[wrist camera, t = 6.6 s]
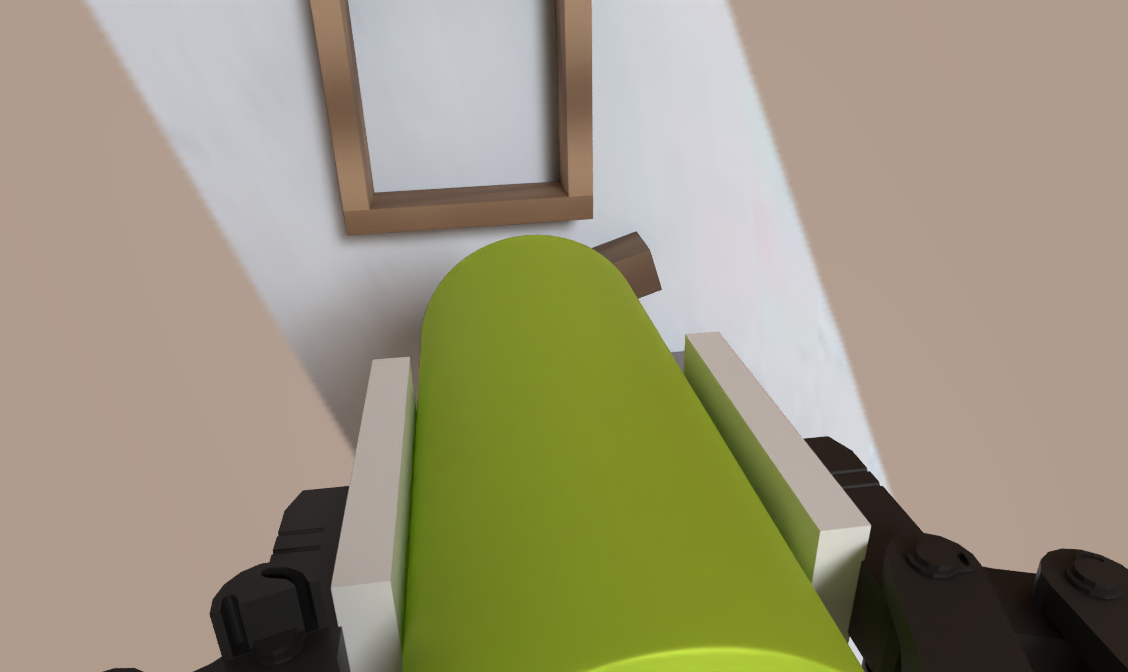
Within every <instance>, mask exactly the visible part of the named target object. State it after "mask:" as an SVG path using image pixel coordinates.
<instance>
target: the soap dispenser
mask: <svg viewBox="0 0 1128 672" xmlns="http://www.w3.org/2000/svg"><path fill="white" fill-rule="evenodd" d="M402 672H865V671H864V670H863V668H862V666H861V665H860V663H859V662H858V660H857V658H856V657H855V655H854V653H853V652H852V650H851V648H850V647H849V645H848V643H847V642H846V640H845V639H844V637H843V635H842V634H841V632H840V630H839V629H838V627H837V625H836V624H835V622H834V620H833V619H832V617H831V615H830V614H829V612H828V611H827V609H826V607H825V606H824V604H823V602H822V601H821V599H820V597H819V596H818V594H817V592H816V591H815V589H814V588H813V586H812V584H811V583H810V581H809V579H808V578H807V576H806V574H805V573H804V571H803V569H802V568H801V566H800V565H799V563H798V561H797V560H796V558H795V556H794V555H793V553H792V551H791V550H790V548H789V546H788V545H787V543H786V541H785V540H784V538H783V537H782V535H781V533H780V532H779V530H778V528H777V527H776V525H775V523H774V522H773V520H772V518H771V517H770V515H769V514H768V512H767V510H766V509H765V507H764V505H763V504H762V502H761V500H760V499H759V497H758V495H757V494H756V492H755V491H754V489H753V487H752V486H751V484H750V482H749V481H748V479H747V477H746V476H745V474H744V472H743V471H742V469H741V467H740V466H739V464H738V463H737V461H736V459H735V458H734V456H733V454H732V453H731V451H730V449H729V448H728V446H727V444H726V443H725V441H724V440H723V438H722V436H721V435H720V433H719V431H718V430H717V428H716V426H715V425H714V423H713V421H712V420H711V418H710V417H709V415H708V413H707V412H706V410H705V408H704V407H703V405H702V403H701V402H700V400H699V398H698V397H697V395H696V394H695V392H694V390H693V389H692V387H691V385H690V384H689V382H688V380H687V379H686V377H685V375H684V374H683V372H682V370H681V369H680V367H679V366H678V364H677V362H676V361H675V359H674V357H673V356H672V354H671V352H670V351H669V349H668V347H667V346H666V344H665V343H664V341H663V339H662V338H661V336H660V334H659V333H658V331H657V329H656V328H655V326H654V324H653V323H652V321H651V320H650V318H649V316H648V315H647V313H646V311H645V310H644V308H643V306H642V305H641V303H640V301H639V300H638V298H637V296H636V295H635V293H634V292H633V290H632V288H631V287H630V285H629V283H628V282H627V280H626V279H625V277H624V276H623V275H622V274H621V272H620V271H619V270H618V269H617V268H616V267H615V266H614V265H613V264H612V263H611V262H610V261H609V260H608V259H606V258H605V257H604V256H603V255H601V254H600V253H598V252H597V251H595V250H593V249H591V248H590V247H588V246H586V245H583V244H581V243H578V242H576V241H573V240H570V239H566V238H562V237H556V236H549V235H525V236H517V237H512V238H507V239H504V240H500V241H497V242H495V243H492V244H489V245H487V246H485V247H483V248H481V249H479V250H477V251H475V252H474V253H472V254H470V255H469V256H468V257H466V258H465V259H463V260H462V261H461V262H460V263H458V264H457V265H456V266H455V267H454V268H453V269H452V270H451V271H450V272H449V273H448V274H447V275H446V276H445V278H444V279H443V280H442V281H441V283H440V284H439V286H438V287H437V289H436V290H435V292H434V294H433V296H432V298H431V300H430V302H429V304H428V307H427V309H426V313H425V316H424V320H423V325H422V333H421V349H420V366H419V384H418V401H417V418H416V435H415V453H414V470H413V487H412V505H411V522H410V539H409V556H408V574H407V591H406V608H405V626H404V643H403V660H402Z"/></svg>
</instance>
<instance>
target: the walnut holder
mask: <svg viewBox="0 0 1128 672" xmlns="http://www.w3.org/2000/svg"><path fill="white" fill-rule="evenodd" d="M310 3H311V9H312V16H313V22H314V28H315V34H316V41H317V47H318V53H319V60H320V66H321V72H322V79H323V85H324V91H325V98H326V104H327V110H328V117H329V123H330V129H331V136H332V142H333V148H334V155H335V161H336V167H337V174H338V180H339V186H340V193H341V199H342V205H343V212H344V218H345V224H346V231H347V235H362V234H377V233H391V232H406V231H421V230H436V229H450V228H465V227H480V226H495V225H509V224H524V223H539V222H554V221H568V220H583V219H593V149H592V9H591V0H555V4H556V42H557V80H558V117H559V155H560V181H558V182H542V183H526V184H509V185H493V186H477V187H461V188H444V189H428V190H412V191H396V192H379V193H374V188H373V180H372V173H371V166H370V159H369V151H368V144H367V137H366V129H365V122H364V115H363V108H362V100H361V93H360V86H359V79H358V71H357V64H356V57H355V50H354V42H353V35H352V28H351V21H350V13H349V6H348V0H310Z"/></svg>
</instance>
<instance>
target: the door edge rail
mask: <svg viewBox="0 0 1128 672" xmlns="http://www.w3.org/2000/svg"><path fill="white" fill-rule="evenodd" d="M591 249H593V250H595V251H597V252H598V253H600V254H601V255H603V256H604V257H605V258H606V259H608V260H609V261H610V262H611V263H612V264H613V265H614V266H615V267H616V268H617V269H618V270H619V271H620V272H621V274H622V275H623V276H624V277H625V279H626V280H627V282H628V283H629V285H630V287H631V288H632V290H633V292H634V293H635V295H636V296H637V298H641V297H644V296H646V295H649V294H652V293H654V292H657V291H660V290H662V288H661V285H660V281H659V278H658V275H657V272H656V268H655V265H654V262H653V258H652V255H651V252H650V249H649V248H648V246H647V245H646V244H645V242H644V241H643V240H642V238H641V237H640V236H639V234H638V233H637V232H634V233H631V234H628V235H626V236H623V237H620V238H618V239H615V240H613V241H610V242H607V243H605V244H602V245H599V246H597V247H594V248H591Z"/></svg>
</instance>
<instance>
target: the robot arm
mask: <svg viewBox="0 0 1128 672" xmlns="http://www.w3.org/2000/svg"><path fill="white" fill-rule="evenodd" d="M683 374H684V375H685V377H686V379H687V380H688V382H689V384H690V385H691V387H692V389H693V390H694V392H695V394H696V395H697V397H698V398H699V400H700V402H701V403H702V405H703V407H704V408H705V410H706V412H707V413H708V415H709V417H710V418H711V420H712V421H713V423H714V425H715V426H716V428H717V430H718V431H719V433H720V435H721V436H722V438H723V440H724V441H725V443H726V444H727V446H728V448H729V449H730V451H731V453H732V454H733V456H734V458H735V459H736V461H737V463H738V464H739V466H740V467H741V469H742V471H743V472H744V474H745V476H746V477H747V479H748V481H749V482H750V484H751V486H752V487H753V489H754V491H755V492H756V494H757V495H758V497H759V499H760V500H761V502H762V504H763V505H764V507H765V509H766V510H767V512H768V514H769V515H770V517H771V518H772V520H773V522H774V523H775V525H776V527H777V528H778V530H779V532H780V533H781V535H782V537H783V538H784V540H785V541H786V543H787V545H788V546H789V548H790V550H791V551H792V553H793V555H794V556H795V558H796V560H797V561H798V563H799V565H800V566H801V568H802V569H803V571H804V573H805V574H806V576H807V578H808V579H809V581H810V583H811V584H812V586H813V588H814V589H815V591H816V592H817V594H818V596H819V597H820V599H821V601H822V602H823V604H824V606H825V607H826V609H827V611H828V612H829V614H830V615H831V617H832V619H833V620H834V622H835V624H836V625H837V627H838V629H839V630H840V632H841V634H842V635H843V637H844V639H845V640H846V642H847V643H848V642H849V637H851V639H852V640H853V642H854V644H855V645H856V647H857V648H858V650H859V652H860V653H861V655H862V657H863V662H862V668H863V670H864V671H865V672H1128V569H1127V568H1125V567H1124V566H1123V565H1121V564H1119V563H1117V562H1114V561H1113V560H1110V559H1108V558H1106V557H1104V556H1102V555H1099V554H1095V553H1091V552H1087V551H1084V550H1077V549H1059V550H1055V551H1050V552H1048V553H1047V554H1046V555H1045V556H1044V557H1043V558H1042V559H1041V561H1040V564H1039V567H1038V571H1037V573H1036V574H1035V573H1026V572H1017V571H1010V570H1001V569H993V568H988V567H982V566H981V564H980V563H979V562H978V560H977V559H976V558H975V556H974V555H973V554H972V553H970V552H969V551H967V550H966V549H965V548H963V547H962V546H961V545H959V544H957V543H955V542H953V541H951V540H948V539H946V538H943V537H941V536H937V535H932V534H927V533H923V532H922V531H921V530H920V528H919V527H918V526H917V525H916V524H915V523H914V522H913V520H912V519H911V518H910V517H909V516H908V515H907V513H906V512H905V511H904V510H903V509H902V508H901V506H900V505H899V504H898V503H897V502H896V501H895V500H894V498H893V497H892V496H891V495H890V494H889V493H888V492H887V490H886V489H885V488H884V487H883V486H880V484H879V481H878V480H877V479H876V478H875V477H874V475H873V474H872V473H871V472H870V471H869V472H868V471H867V467H866V466H865V465H864V464H863V463H862V462H861V461H860V459H859V458H858V457H857V456H856V455H855V454H854V452H853V451H852V450H850V449H848V448H847V447H845V446H843V445H842V444H840V443H838V442H837V441H835V440H833V439H832V438H830V437H828V436H826V437H816V438H806V439H803V438H802V437H801V435H800V434H799V433H798V432H797V430H796V429H795V428H794V426H793V425H792V424H791V423H790V421H789V420H788V419H787V418H786V416H785V415H784V414H783V412H782V411H781V410H780V409H779V407H778V406H777V405H776V404H775V402H774V401H773V400H772V398H771V397H770V396H769V395H768V393H767V392H766V391H765V390H764V388H763V387H762V386H761V384H760V383H759V382H758V381H757V379H756V378H755V377H754V376H753V374H752V373H751V372H750V370H749V369H748V368H747V367H746V365H745V364H744V363H743V362H742V360H741V359H740V358H739V356H738V355H737V354H736V353H735V351H734V350H733V349H732V348H731V346H730V345H729V344H728V342H727V341H726V340H725V339H724V337H723V336H722V335H721V334H720V332H710V333H698V334H686V335H685V353H684V371H683ZM416 418H417V412H416V404H415V396H414V387H413V379H412V370H411V362H410V357H399V358H386V359H374V360H373V361H372V366H371V372H370V377H369V383H368V388H367V394H366V399H365V404H364V410H363V415H362V421H361V426H360V432H359V437H358V442H357V448H356V453H355V459H354V464H353V470H352V475H351V480H350V486H344V487H335V488H324V489H314V490H304V491H302V492H301V493H300V494H299V495H298V496H297V498H296V499H295V500H294V501H293V502H292V503H291V505H289V506H288V508H287V509H286V510H285V511H284V515H283V519H282V522H281V525H280V528H279V532H278V534H279V536H278V537H277V538H276V542H275V545H274V548H273V555H271V558H270V562H269V563H263V564H259V565H257V566H254V567H252V568H250V569H247V570H245V571H243V572H240V573H239V574H238V575H236V576H235V577H234V578H232V579H231V580H230V581H228V582H227V583H226V584H224V585H223V587H222V588H221V589H220V590H219V592H218V593H217V594H216V596H215V597H214V598H213V601H212V606H211V610H210V617H211V621H212V624H213V628H214V631H215V634H216V638H217V641H218V644H219V648H220V651H221V655H222V657H220V658H219V659H217V660H216V661H214V662H213V663H211V664H209V665H207V666H205V667H203V668H200V669H198V670H196V671H194V672H402V660H403V643H404V626H405V608H406V591H407V574H408V556H409V539H410V522H411V505H412V487H413V470H414V453H415V435H416ZM104 672H143V671H140V670H138V669H135V668H114V669H111V670H107V671H104Z"/></svg>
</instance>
